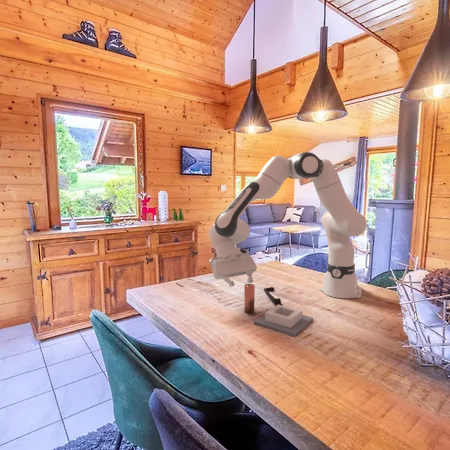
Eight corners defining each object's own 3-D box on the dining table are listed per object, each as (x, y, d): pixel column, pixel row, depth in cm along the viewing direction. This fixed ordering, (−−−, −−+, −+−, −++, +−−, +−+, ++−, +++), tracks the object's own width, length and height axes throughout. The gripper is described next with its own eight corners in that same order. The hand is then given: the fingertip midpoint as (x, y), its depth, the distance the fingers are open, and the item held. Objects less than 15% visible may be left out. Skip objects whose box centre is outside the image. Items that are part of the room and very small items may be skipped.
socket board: (274, 310, 122) (274, 300, 122) (313, 320, 113) (313, 309, 112) (253, 323, 110) (253, 313, 109) (295, 336, 100) (295, 325, 100)
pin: (247, 309, 123) (248, 283, 122) (256, 311, 120) (256, 285, 119) (242, 312, 120) (242, 285, 118) (250, 315, 117) (251, 287, 116)
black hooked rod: (274, 294, 147) (290, 313, 117) (263, 295, 147) (277, 314, 117) (273, 283, 147) (290, 300, 117) (263, 284, 147) (277, 301, 117)
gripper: (210, 254, 123) (223, 284, 115) (250, 249, 134) (264, 276, 126) (205, 263, 127) (217, 292, 120) (244, 257, 138) (257, 283, 131)
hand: (241, 284), depth 123 cm, fingers open, 8 cm apart
